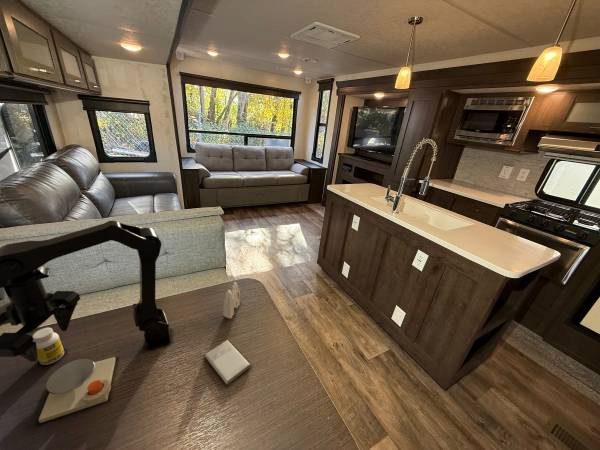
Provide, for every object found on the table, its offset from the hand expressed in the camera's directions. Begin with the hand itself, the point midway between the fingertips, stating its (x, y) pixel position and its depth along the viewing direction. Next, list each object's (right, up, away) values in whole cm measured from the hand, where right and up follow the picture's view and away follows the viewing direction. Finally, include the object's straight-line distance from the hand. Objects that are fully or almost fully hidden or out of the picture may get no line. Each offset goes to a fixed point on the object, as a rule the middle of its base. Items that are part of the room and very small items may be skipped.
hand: (50, 344), depth 63 cm
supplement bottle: (-10, -9, +10) cm, 17 cm away
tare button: (+11, -12, 0) cm, 17 cm away
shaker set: (+37, -3, +34) cm, 51 cm away
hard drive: (+42, -12, +14) cm, 46 cm away
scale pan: (+3, -10, +3) cm, 11 cm away
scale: (+6, -13, +3) cm, 15 cm away
